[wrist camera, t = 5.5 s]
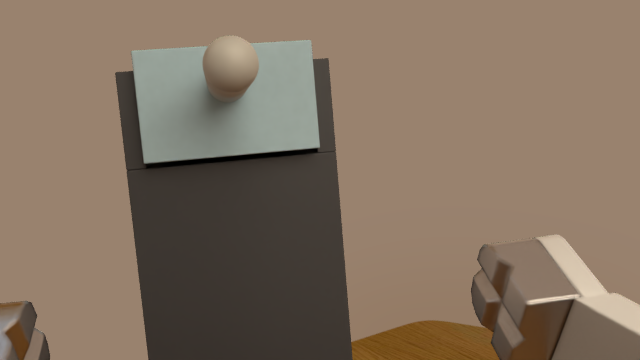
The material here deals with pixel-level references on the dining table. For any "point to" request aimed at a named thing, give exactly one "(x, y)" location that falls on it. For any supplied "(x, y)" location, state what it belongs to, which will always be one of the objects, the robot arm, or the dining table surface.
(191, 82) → the tray
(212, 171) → the box
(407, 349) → the dining table surface
